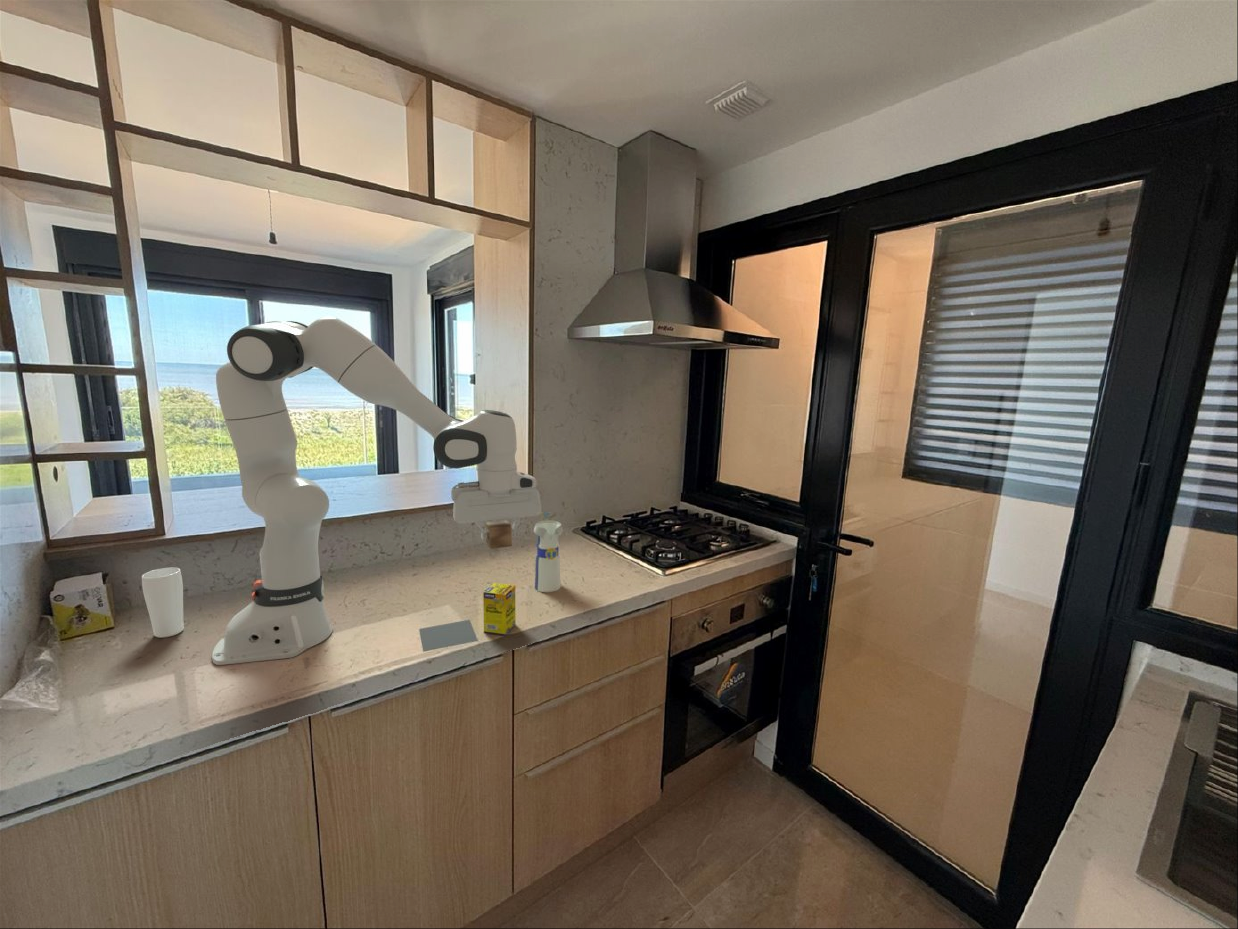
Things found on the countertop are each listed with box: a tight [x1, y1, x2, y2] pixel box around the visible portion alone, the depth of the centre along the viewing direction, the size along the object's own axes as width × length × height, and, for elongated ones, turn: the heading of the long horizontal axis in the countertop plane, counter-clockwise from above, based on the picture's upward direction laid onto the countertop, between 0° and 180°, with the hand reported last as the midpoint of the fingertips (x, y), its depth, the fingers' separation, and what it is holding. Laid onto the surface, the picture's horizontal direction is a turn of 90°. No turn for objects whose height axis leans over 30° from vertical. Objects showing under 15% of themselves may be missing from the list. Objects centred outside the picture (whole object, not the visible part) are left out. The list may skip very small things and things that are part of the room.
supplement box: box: [482, 582, 516, 637], centre depth 121 cm, size 6×6×11 cm
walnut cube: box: [485, 519, 513, 550], centre depth 118 cm, size 5×5×5 cm
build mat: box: [418, 619, 479, 652], centre depth 119 cm, size 12×11×1 cm
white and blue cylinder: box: [533, 509, 564, 593], centre depth 146 cm, size 8×9×25 cm
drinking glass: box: [141, 566, 185, 639], centre depth 116 cm, size 7×7×15 cm
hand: (498, 537), depth 118 cm, fingers closed on walnut cube, 5 cm apart
